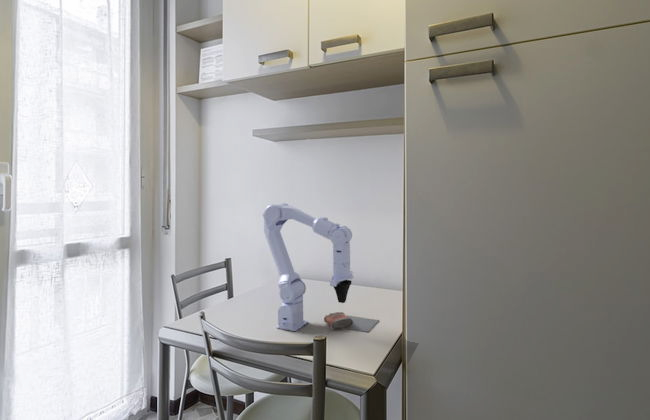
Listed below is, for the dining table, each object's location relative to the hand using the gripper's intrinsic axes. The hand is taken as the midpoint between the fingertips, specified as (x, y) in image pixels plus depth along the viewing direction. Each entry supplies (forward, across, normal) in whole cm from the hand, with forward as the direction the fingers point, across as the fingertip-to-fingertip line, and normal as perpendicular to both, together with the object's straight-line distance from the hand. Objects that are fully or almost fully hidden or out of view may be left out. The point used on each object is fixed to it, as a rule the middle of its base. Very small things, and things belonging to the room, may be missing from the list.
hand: (341, 302), depth 126 cm
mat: (+10, +9, -1) cm, 14 cm away
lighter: (+8, +2, 0) cm, 9 cm away
